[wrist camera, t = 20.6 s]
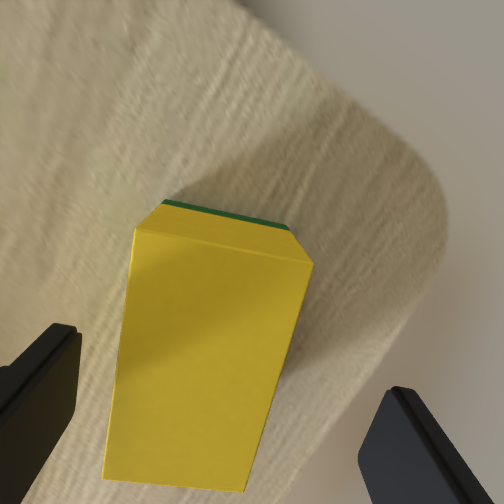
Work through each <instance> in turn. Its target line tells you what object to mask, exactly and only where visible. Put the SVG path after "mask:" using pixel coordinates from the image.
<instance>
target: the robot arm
mask: <svg viewBox="0 0 504 504" xmlns="http://www.w3.org/2000/svg"><path fill="white" fill-rule="evenodd" d="M81 345H82V334H81V333H78V332H77V329H76V327H75V326H69V325H64V324H58V323H53V324H52V325H51V326H50V327H49V328H48V329H46V330H45V331H44V332H43V333H42V334H41V335H40V336H39V337H38V338H37V339H36V340H35V341H34V342H33V343H32V344H31V345H30V346H29V347H28V348H27V349H26V350H25V351H24V352H23V353H22V354H21V355H20V356H19V357H18V358H17V359H16V360H15V361H14V362H13V363H12V364H11V365H10V366H2V367H0V504H20V503H21V502H22V500H23V498H24V497H25V495H26V493H27V492H28V490H29V488H30V487H31V485H32V483H33V482H34V480H35V478H36V477H37V475H38V474H39V472H40V470H41V469H42V467H43V465H44V464H45V462H46V460H47V459H48V457H49V455H50V454H51V452H52V450H53V449H54V447H55V445H56V444H57V442H58V441H59V439H60V437H61V436H62V434H63V432H64V431H65V429H66V427H67V426H68V424H69V422H70V421H71V419H72V416H73V414H74V411H75V406H76V396H77V386H78V376H79V365H80V355H81ZM358 464H359V468H360V470H361V473H362V476H363V479H364V482H365V484H366V487H367V490H368V493H369V495H370V498H371V501H372V503H373V504H494V503H493V502H492V500H491V498H490V497H489V496H488V494H487V493H486V491H485V490H484V488H483V487H482V486H481V484H480V483H479V481H478V480H477V478H476V477H475V476H474V474H473V473H472V471H471V470H470V468H469V467H468V466H467V464H466V463H465V461H464V460H463V458H462V457H461V456H460V454H459V453H458V451H457V450H456V448H455V447H454V445H453V444H452V443H451V441H450V440H449V438H448V437H447V436H446V434H445V433H444V431H443V430H442V428H441V427H440V426H439V424H438V423H437V421H436V420H435V418H434V417H433V415H432V414H431V413H430V411H429V410H428V408H427V407H426V405H425V404H424V403H423V401H422V400H421V398H420V397H419V395H418V394H417V393H416V392H415V391H414V390H413V389H409V388H404V387H398V386H394V387H392V388H391V390H387V391H386V393H385V395H384V397H383V399H382V401H381V404H380V406H379V408H378V410H377V413H376V415H375V417H374V419H373V421H372V424H371V426H370V428H369V431H368V433H367V435H366V437H365V439H364V441H363V444H362V446H361V448H360V450H359V453H358Z"/></svg>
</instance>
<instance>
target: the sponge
mask: <svg viewBox="0 0 504 504" xmlns="http://www.w3.org/2000/svg"><path fill="white" fill-rule="evenodd" d="M313 268H314V263H313V261H312V260H311V259H310V257H309V256H308V255H307V253H306V252H305V251H304V249H303V248H302V246H301V245H300V244H299V242H298V241H297V240H296V238H295V237H294V235H293V234H292V233H291V232H290V230H289V228H288V227H287V226H286V225H282V224H278V223H273V222H269V221H264V220H259V219H255V218H250V217H245V216H241V215H236V214H232V213H227V212H222V211H218V210H213V209H208V208H204V207H199V206H195V205H190V204H185V203H181V202H176V201H171V200H167V199H166V200H164V201H163V202H162V203H161V204H160V205H159V206H158V207H157V208H156V209H155V210H154V211H153V212H152V213H151V214H150V215H149V216H148V217H147V218H146V219H144V220H143V221H142V222H141V223H140V224H139V225H138V226H137V227H136V228H135V230H134V238H133V245H132V253H131V260H130V268H129V275H128V283H127V290H126V298H125V305H124V313H123V320H122V328H121V335H120V342H119V350H118V357H117V365H116V372H115V380H114V387H113V395H112V402H111V410H110V417H109V425H108V432H107V440H106V447H105V455H104V462H103V470H102V479H103V480H112V481H123V482H133V483H144V484H154V485H165V486H175V487H186V488H197V489H207V490H218V491H228V492H239V493H243V492H244V491H245V488H246V485H247V482H248V479H249V475H250V472H251V469H252V466H253V462H254V459H255V456H256V453H257V449H258V446H259V443H260V440H261V436H262V433H263V430H264V427H265V423H266V420H267V417H268V414H269V411H270V407H271V404H272V401H273V398H274V394H275V391H276V388H277V385H278V381H279V378H280V375H281V372H282V368H283V365H284V362H285V359H286V355H287V352H288V349H289V346H290V343H291V339H292V336H293V333H294V330H295V326H296V323H297V320H298V317H299V313H300V310H301V307H302V304H303V300H304V297H305V294H306V291H307V287H308V284H309V281H310V278H311V275H312V271H313Z"/></svg>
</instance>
